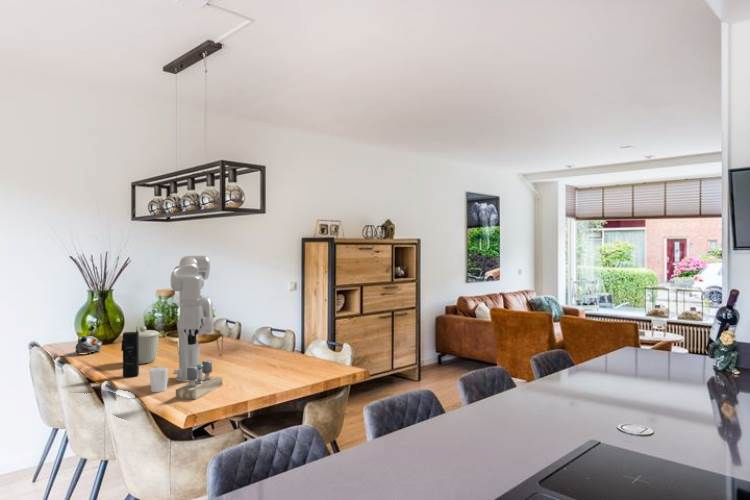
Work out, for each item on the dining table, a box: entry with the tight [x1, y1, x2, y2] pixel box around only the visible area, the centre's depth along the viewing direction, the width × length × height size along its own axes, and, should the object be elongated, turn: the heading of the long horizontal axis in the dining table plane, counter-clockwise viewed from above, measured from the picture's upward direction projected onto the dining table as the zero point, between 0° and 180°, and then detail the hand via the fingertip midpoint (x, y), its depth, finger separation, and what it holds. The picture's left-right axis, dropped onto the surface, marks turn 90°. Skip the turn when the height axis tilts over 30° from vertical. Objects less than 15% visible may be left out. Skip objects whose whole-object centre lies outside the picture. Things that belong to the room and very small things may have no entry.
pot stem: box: [197, 363, 203, 384], centre depth 223 cm, size 3×3×8 cm
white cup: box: [149, 366, 169, 393], centre depth 226 cm, size 8×8×10 cm
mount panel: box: [175, 375, 223, 400], centre depth 223 cm, size 10×22×4 cm, turn 168°
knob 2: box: [201, 359, 213, 380], centre depth 229 cm, size 4×4×10 cm
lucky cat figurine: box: [75, 335, 103, 354], centre depth 308 cm, size 15×12×14 cm
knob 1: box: [187, 366, 198, 388], centre depth 218 cm, size 4×4×10 cm
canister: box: [133, 325, 161, 365], centre depth 283 cm, size 18×18×21 cm
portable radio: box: [120, 327, 140, 378], centre depth 252 cm, size 8×6×25 cm
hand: (192, 344), depth 218 cm, fingers closed
